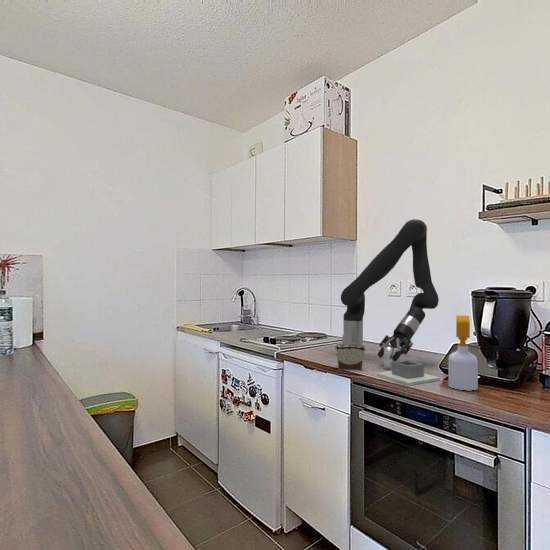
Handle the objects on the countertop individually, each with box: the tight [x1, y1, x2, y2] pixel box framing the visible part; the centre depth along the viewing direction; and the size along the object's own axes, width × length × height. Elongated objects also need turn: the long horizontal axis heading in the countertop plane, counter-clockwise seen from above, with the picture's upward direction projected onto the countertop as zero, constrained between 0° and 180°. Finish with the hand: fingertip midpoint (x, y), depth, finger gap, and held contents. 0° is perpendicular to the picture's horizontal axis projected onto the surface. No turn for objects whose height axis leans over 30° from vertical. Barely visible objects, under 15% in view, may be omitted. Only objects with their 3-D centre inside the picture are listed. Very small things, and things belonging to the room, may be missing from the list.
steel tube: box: [383, 345, 395, 371], centre depth 159 cm, size 4×4×9 cm
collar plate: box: [376, 360, 441, 386], centre depth 145 cm, size 16×16×6 cm
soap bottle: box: [447, 314, 479, 392], centre depth 132 cm, size 9×9×25 cm
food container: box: [334, 343, 366, 372], centre depth 160 cm, size 12×6×10 cm, turn 84°
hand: (386, 358), depth 158 cm, fingers open, 7 cm apart
